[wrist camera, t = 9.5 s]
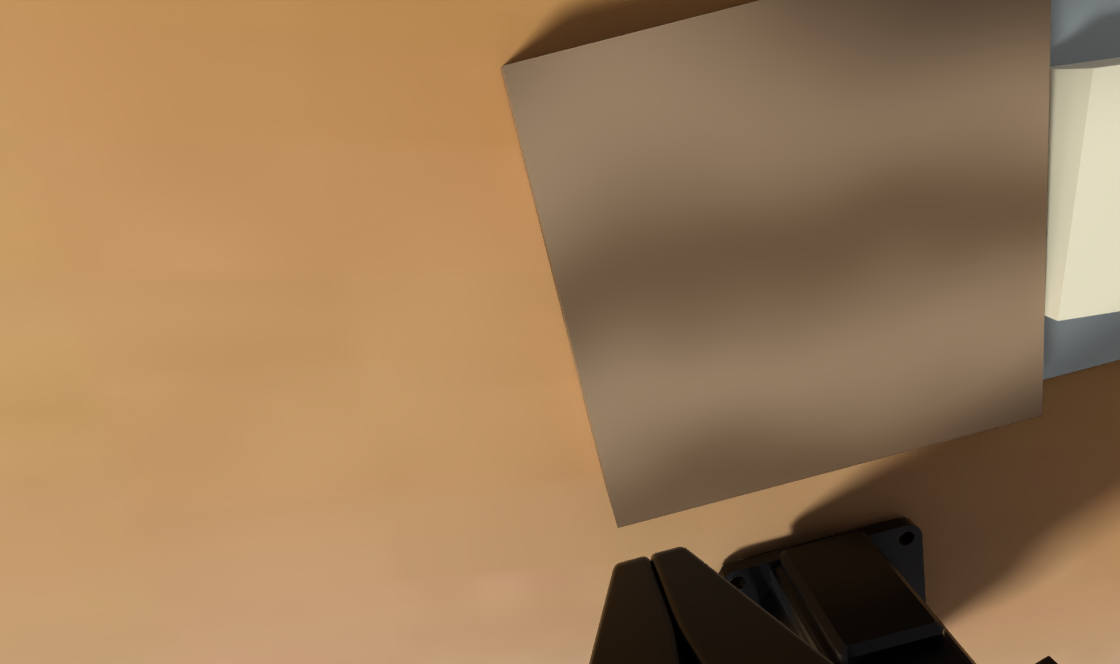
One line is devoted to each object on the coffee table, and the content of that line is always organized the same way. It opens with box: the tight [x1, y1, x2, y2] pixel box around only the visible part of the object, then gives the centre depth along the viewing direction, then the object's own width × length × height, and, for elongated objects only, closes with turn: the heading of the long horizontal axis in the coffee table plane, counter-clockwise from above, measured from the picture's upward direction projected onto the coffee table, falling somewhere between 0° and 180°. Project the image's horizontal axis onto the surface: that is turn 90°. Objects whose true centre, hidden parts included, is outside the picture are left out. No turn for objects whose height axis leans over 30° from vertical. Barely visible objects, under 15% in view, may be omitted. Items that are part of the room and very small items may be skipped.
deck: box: [501, 0, 1051, 528], centre depth 17 cm, size 12×12×2 cm
